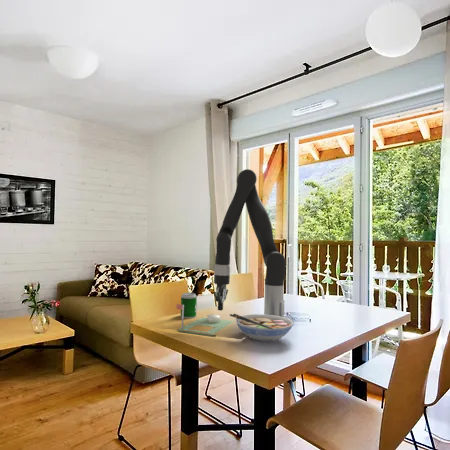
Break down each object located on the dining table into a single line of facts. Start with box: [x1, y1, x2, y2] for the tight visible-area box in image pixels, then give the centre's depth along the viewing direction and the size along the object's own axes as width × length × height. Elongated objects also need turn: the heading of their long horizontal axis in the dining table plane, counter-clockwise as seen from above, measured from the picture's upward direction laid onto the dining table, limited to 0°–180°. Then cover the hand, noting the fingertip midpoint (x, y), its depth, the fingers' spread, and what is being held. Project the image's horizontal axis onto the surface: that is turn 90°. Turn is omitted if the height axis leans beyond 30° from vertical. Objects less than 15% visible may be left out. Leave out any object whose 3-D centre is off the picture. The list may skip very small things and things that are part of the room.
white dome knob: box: [206, 314, 221, 323], centre depth 160 cm, size 6×6×2 cm
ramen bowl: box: [229, 313, 294, 343], centre depth 138 cm, size 25×23×8 cm
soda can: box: [180, 292, 198, 319], centre depth 169 cm, size 8×8×12 cm
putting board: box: [176, 303, 234, 338], centre depth 153 cm, size 18×24×11 cm
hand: (220, 310), depth 168 cm, fingers closed
